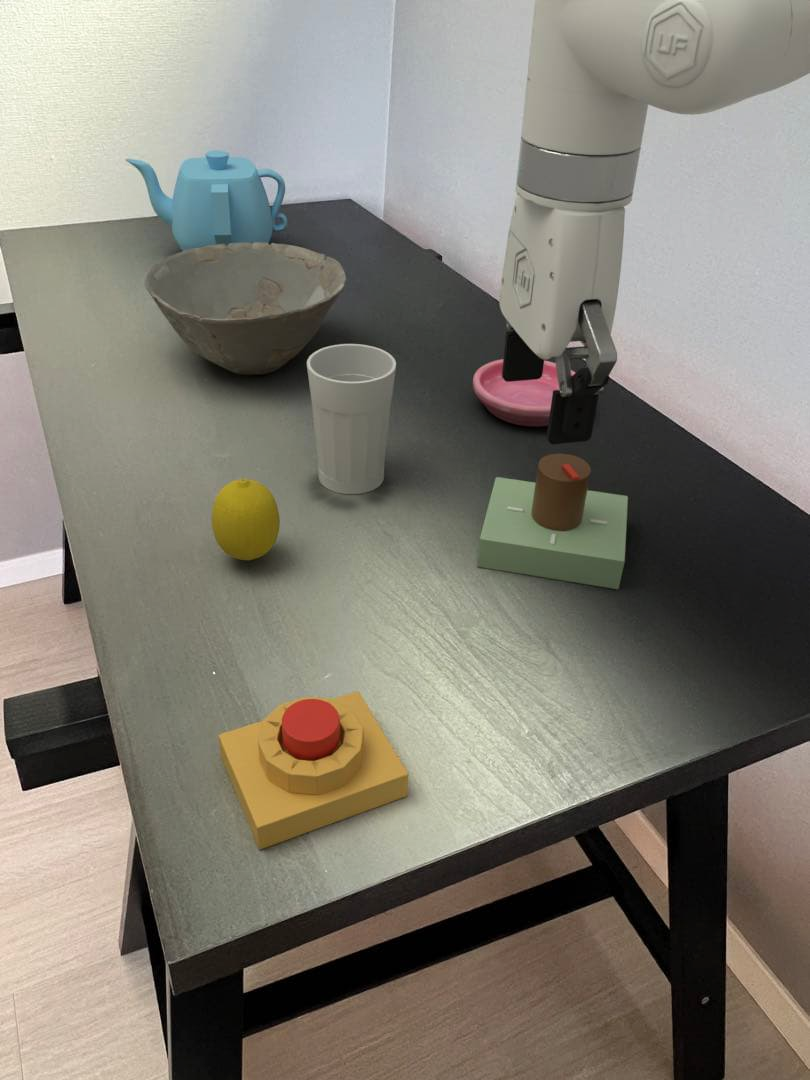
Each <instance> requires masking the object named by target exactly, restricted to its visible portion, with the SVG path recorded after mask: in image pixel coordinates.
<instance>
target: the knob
mask: <svg viewBox="0 0 810 1080" xmlns="http://www.w3.org/2000/svg"><path fill="white" fill-rule="evenodd" d="M591 473H592V468H591V466H590V464H589V463H588V462H587V461H585V459H583V458H581V457H578V456H576V455H573V454H568V453H552V454H548V455H545V456H543V457H542V458H540V460H539V461H538V463H537V470H536V475H535V490H534V497H533V504H532V511H531V514H532V517H533V519H534V520H535V521H536V522H537V523H538V524H539V525H541V526H543V527H546V528H549V529H553V530H569V529H573V528H575V527H577V526H578V525H579V524H580V523H581V521H582V518H583V512H584V507H585V501H586V496H587V490H589V483H590V478H591Z"/></svg>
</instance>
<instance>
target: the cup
mask: <svg viewBox="0 0 810 1080" xmlns="http://www.w3.org/2000/svg"><path fill="white" fill-rule="evenodd" d="M306 369H307V376H308V384H309V392H310V393H309V394H310V399H311V409H312V418H313V426H314V436H315V445H316V457H317V462H318V463H317V464H318V465H317V468H318V469H317V471H318V473H317V474H318V480H319V483H320V484H321V485H322V486H323V487H324V488H325V489H327V490H329V491H331V492H335V493H336V494H337V493H338V494H344V495H361V494H365V493H370V492H371V491H374V490H376V489H377V488H379V487H380V486H381V485H382V483H383V482H384V480H385V479H384V478H385V461H386V460H385V459H386V450H387V441H388V433H389V423H390V415H391V408H392V407H391V405H392V400H393V399H392V398H393V393H394V386H395V378H396V372H397V371H396V370H397V361H396V359H395V357H394V356H393V355H392V354H390V353H389V352H387V351H386V350H384V349H382V348H379V347H376V346H371V345H368V344H359V343H339V344H334V345H329V346H326V347H322V348H320V349H318V350H315V351H314V352H312V354H310V355H309V356H308V358H307V359H306Z"/></svg>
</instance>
